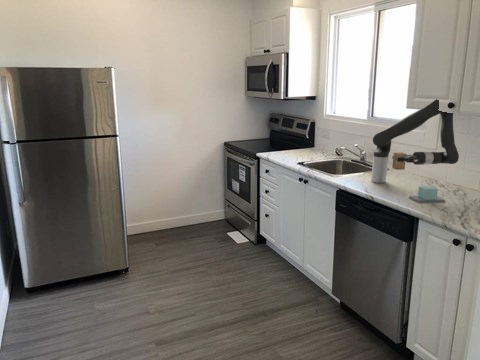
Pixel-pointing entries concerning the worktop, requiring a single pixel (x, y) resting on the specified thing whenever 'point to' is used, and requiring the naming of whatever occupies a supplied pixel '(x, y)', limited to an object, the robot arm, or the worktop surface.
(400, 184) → the worktop surface
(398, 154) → the walnut brick
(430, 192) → the tower base
